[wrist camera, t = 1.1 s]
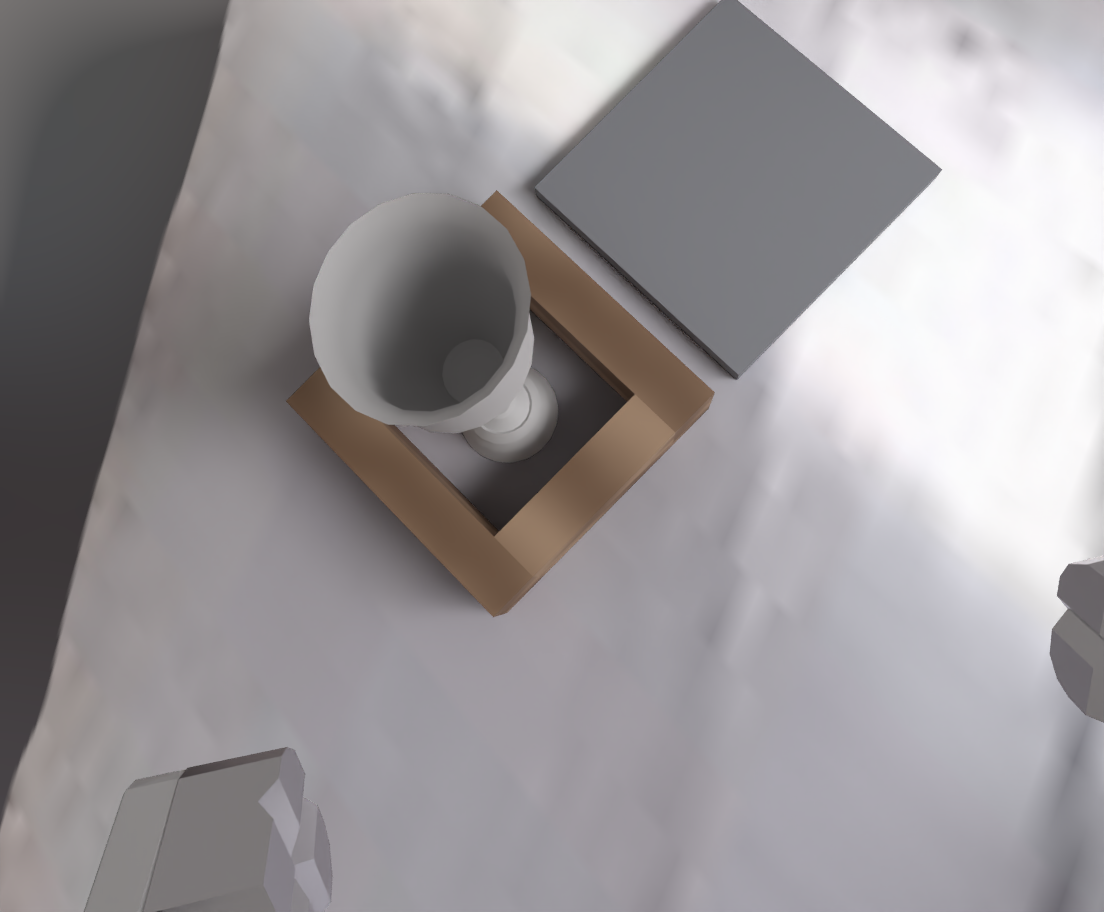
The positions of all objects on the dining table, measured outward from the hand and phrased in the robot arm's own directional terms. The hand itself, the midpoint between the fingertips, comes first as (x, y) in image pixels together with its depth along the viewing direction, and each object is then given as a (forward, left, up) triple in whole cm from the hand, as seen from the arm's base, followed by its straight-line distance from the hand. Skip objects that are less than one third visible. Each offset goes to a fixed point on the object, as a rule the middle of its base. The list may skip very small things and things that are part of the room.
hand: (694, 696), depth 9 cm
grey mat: (-17, -12, -34) cm, 40 cm away
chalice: (-1, -11, -34) cm, 36 cm away
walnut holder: (-1, -12, -34) cm, 36 cm away
